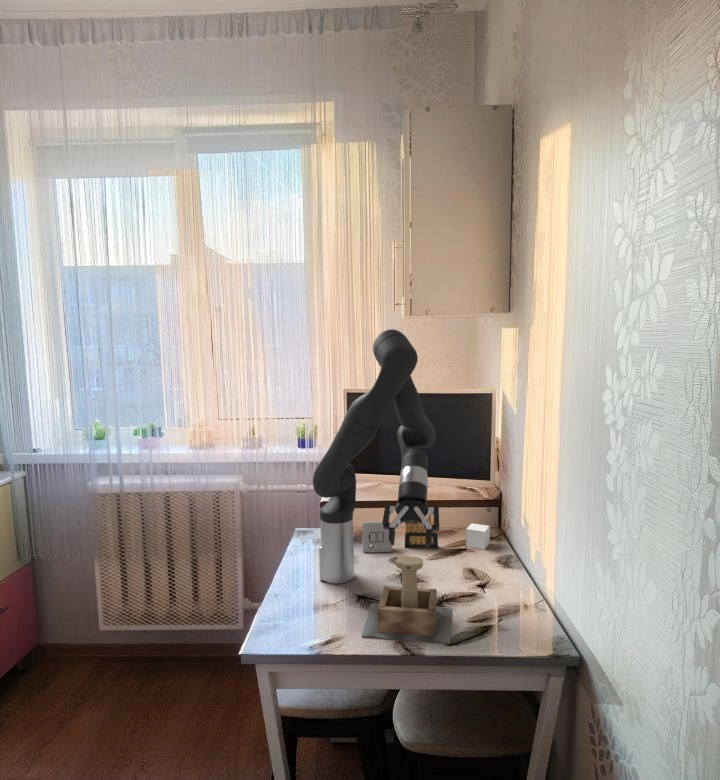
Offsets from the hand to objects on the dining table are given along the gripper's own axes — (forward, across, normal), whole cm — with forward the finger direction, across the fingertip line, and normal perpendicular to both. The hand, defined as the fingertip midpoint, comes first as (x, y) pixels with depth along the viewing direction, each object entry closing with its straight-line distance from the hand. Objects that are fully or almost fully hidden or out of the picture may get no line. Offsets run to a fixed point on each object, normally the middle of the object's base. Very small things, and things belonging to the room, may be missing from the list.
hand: (409, 545), depth 144 cm
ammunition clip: (-18, 0, +42) cm, 46 cm away
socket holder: (+16, 0, +7) cm, 18 cm away
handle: (+16, 0, +7) cm, 18 cm away
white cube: (-21, +18, +45) cm, 53 cm away
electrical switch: (-15, -14, +40) cm, 45 cm away
